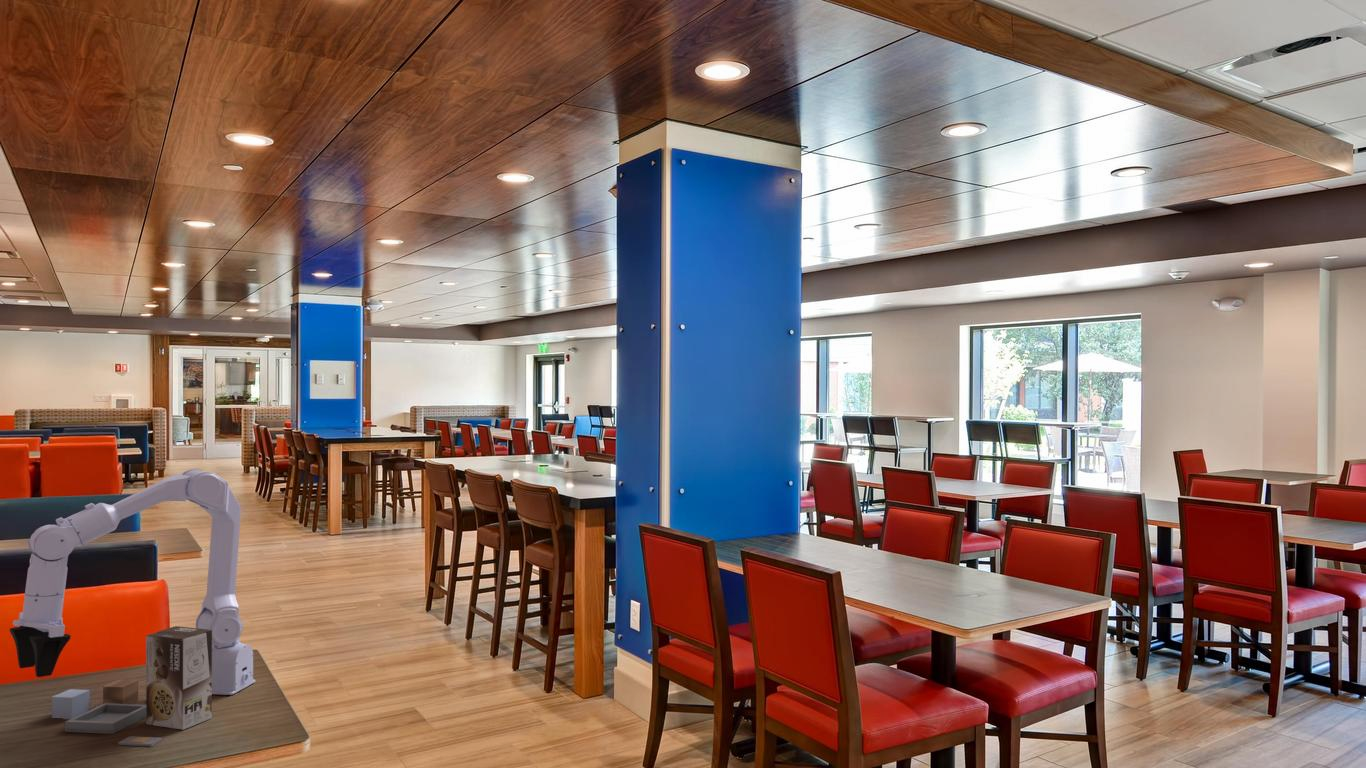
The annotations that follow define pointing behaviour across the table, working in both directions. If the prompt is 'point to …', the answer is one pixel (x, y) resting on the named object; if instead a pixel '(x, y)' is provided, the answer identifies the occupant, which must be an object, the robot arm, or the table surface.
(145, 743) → the label tile
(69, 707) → the slate block
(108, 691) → the walnut block
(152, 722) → the coffee box
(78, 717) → the parts tray
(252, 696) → the table surface
